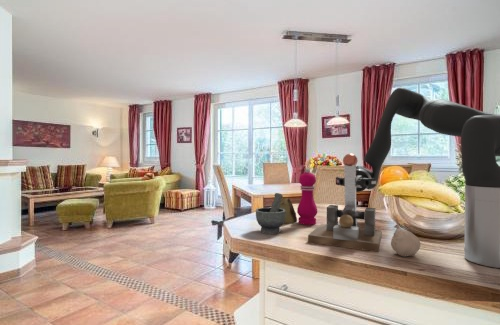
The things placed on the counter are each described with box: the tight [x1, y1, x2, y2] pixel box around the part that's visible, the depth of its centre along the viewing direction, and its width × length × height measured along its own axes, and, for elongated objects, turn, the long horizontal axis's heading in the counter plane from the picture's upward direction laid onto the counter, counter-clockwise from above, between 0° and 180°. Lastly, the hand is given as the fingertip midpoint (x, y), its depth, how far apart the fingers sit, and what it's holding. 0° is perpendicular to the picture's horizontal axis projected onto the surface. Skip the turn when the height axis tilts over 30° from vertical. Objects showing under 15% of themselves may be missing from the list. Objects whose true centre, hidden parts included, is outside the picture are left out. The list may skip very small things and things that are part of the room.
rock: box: [279, 197, 298, 224], centre depth 108 cm, size 10×8×10 cm
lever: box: [337, 153, 365, 227], centre depth 83 cm, size 8×8×22 cm
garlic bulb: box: [390, 223, 421, 257], centre depth 70 cm, size 7×6×8 cm
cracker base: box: [307, 204, 382, 252], centre depth 84 cm, size 18×16×9 cm
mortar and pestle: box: [255, 192, 286, 235], centre depth 93 cm, size 11×9×12 cm
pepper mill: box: [296, 168, 318, 226], centre depth 105 cm, size 7×7×20 cm
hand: (351, 183), depth 85 cm, fingers closed
